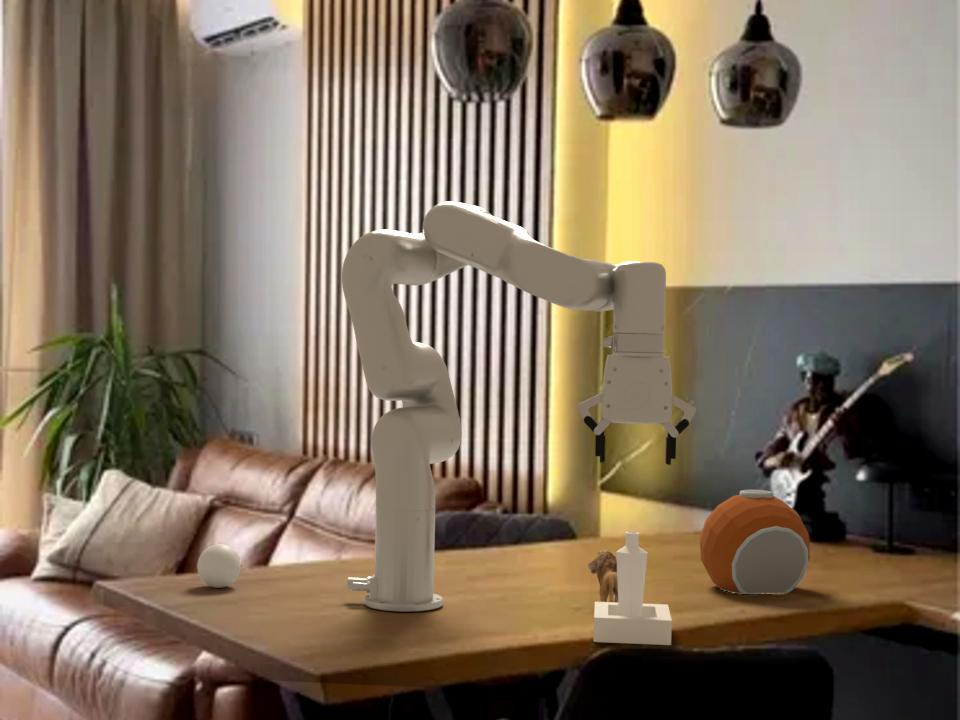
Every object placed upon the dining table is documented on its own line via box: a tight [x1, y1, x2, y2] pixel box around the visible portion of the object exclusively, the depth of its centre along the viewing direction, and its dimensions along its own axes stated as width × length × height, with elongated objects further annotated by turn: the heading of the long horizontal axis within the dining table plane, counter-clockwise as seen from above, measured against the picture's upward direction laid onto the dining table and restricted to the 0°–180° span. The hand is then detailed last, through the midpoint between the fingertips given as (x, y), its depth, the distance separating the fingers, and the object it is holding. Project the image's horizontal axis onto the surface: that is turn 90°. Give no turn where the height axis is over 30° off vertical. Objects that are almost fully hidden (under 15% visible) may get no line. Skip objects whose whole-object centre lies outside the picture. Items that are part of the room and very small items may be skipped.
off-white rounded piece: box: [196, 543, 243, 589], centre depth 235 cm, size 10×7×7 cm
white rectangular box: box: [593, 601, 673, 646], centre depth 204 cm, size 11×12×4 cm
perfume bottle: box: [615, 531, 649, 617], centre depth 204 cm, size 5×4×15 cm
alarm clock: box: [699, 489, 811, 595], centre depth 244 cm, size 19×18×17 cm
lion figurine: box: [587, 550, 618, 603], centre depth 221 cm, size 15×5×9 cm, turn 7°
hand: (635, 462), depth 204 cm, fingers open, 9 cm apart
